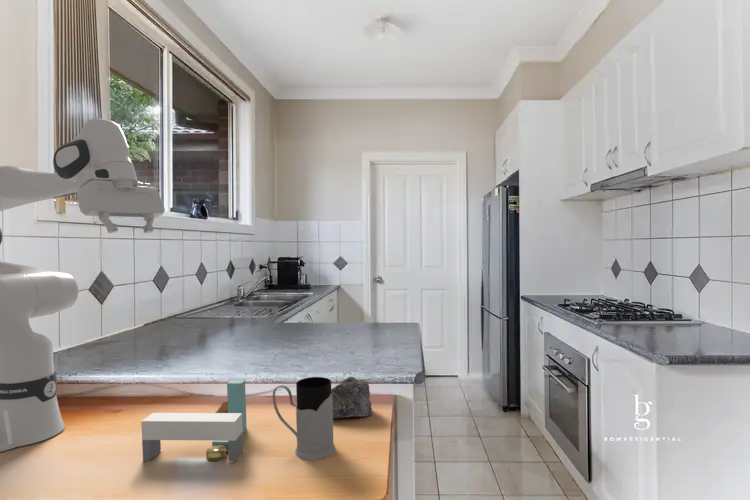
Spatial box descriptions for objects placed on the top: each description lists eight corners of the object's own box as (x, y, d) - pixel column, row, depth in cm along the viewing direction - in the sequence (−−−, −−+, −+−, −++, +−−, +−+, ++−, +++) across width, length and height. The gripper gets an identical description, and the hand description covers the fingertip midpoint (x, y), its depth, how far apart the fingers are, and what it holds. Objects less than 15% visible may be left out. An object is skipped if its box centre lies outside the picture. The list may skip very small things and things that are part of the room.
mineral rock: (315, 421, 119) (314, 381, 118) (330, 405, 129) (329, 369, 129) (364, 425, 115) (363, 385, 115) (375, 409, 126) (375, 372, 125)
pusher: (212, 450, 104) (210, 396, 103) (231, 428, 115) (229, 379, 114) (230, 451, 103) (228, 396, 103) (247, 428, 115) (246, 379, 114)
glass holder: (326, 462, 97) (325, 390, 97) (264, 454, 101) (262, 385, 101) (341, 443, 106) (339, 377, 105) (283, 437, 110) (281, 373, 109)
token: (203, 462, 99) (202, 454, 99) (211, 453, 103) (210, 445, 103) (222, 462, 99) (221, 454, 99) (229, 453, 103) (228, 445, 103)
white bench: (143, 460, 100) (141, 421, 99) (154, 450, 104) (152, 412, 104) (236, 461, 98) (234, 421, 98) (243, 451, 103) (242, 413, 103)
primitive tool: (223, 403, 133) (223, 391, 133) (243, 402, 133) (242, 390, 133) (203, 433, 114) (202, 419, 114) (226, 432, 114) (225, 418, 114)
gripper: (147, 189, 128) (161, 236, 126) (68, 181, 109) (82, 237, 107) (161, 179, 125) (176, 227, 123) (83, 169, 107) (98, 226, 105)
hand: (131, 232), depth 115 cm, fingers open, 8 cm apart
